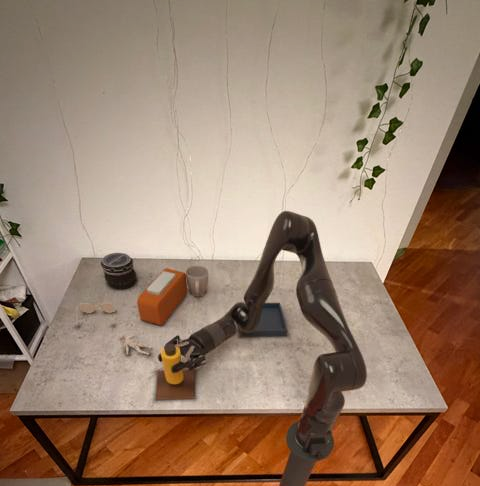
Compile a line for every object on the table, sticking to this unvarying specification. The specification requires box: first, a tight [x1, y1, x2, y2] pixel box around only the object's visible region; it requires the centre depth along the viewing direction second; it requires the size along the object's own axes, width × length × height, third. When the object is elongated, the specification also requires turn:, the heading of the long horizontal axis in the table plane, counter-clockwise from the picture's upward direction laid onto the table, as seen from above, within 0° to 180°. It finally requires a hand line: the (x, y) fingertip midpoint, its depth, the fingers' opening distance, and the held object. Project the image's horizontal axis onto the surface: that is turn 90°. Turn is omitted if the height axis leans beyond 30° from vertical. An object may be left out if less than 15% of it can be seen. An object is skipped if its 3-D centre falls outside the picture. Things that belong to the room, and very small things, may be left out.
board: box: [155, 369, 196, 401], centre depth 109 cm, size 12×12×1 cm
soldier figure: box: [118, 333, 153, 357], centre depth 117 cm, size 8×5×12 cm
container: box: [100, 252, 137, 290], centre depth 139 cm, size 13×13×10 cm
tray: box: [239, 302, 288, 338], centre depth 130 cm, size 17×17×2 cm
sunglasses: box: [75, 302, 116, 327], centre depth 125 cm, size 14×8×5 cm, turn 95°
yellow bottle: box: [160, 343, 184, 384], centre depth 101 cm, size 6×6×13 cm
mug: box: [185, 265, 209, 297], centre depth 136 cm, size 12×9×10 cm
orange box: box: [136, 267, 188, 326], centre depth 129 cm, size 24×8×11 cm, turn 161°
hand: (165, 364), depth 99 cm, fingers closed on yellow bottle, 5 cm apart
